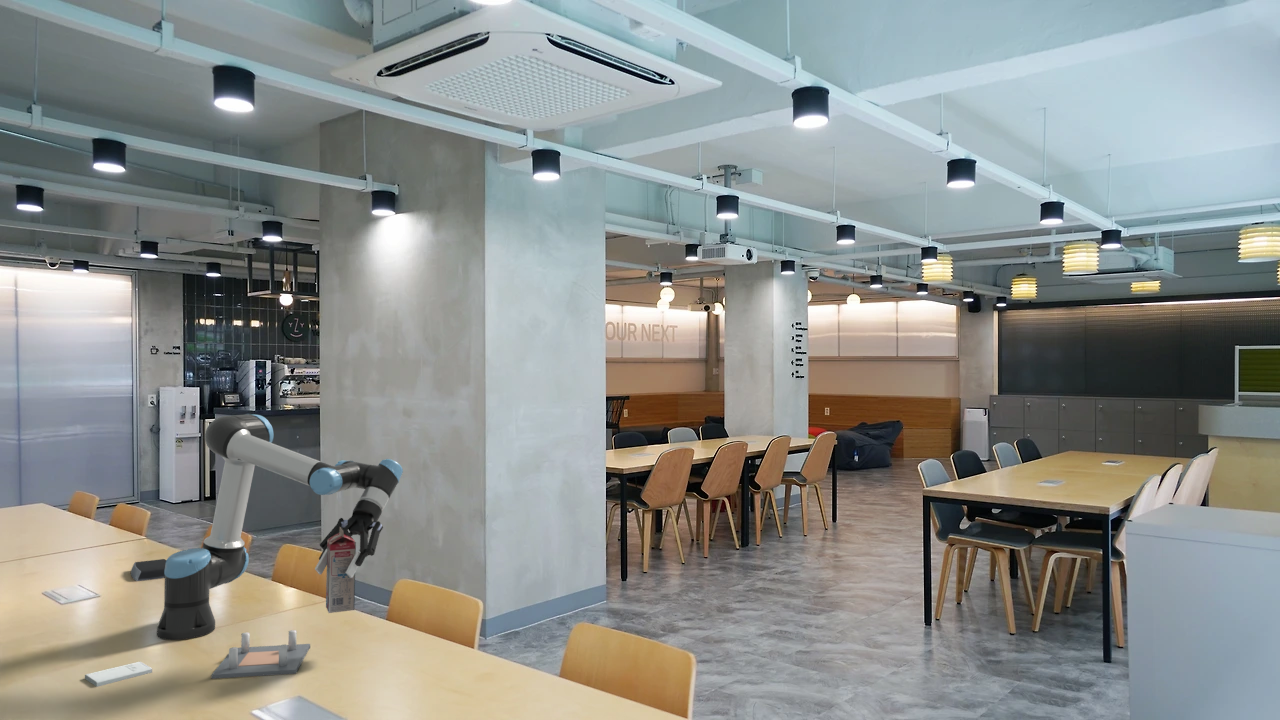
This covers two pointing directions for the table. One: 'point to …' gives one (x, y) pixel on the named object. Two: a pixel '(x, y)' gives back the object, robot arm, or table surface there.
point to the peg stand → (262, 659)
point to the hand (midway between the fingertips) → (333, 573)
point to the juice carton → (340, 573)
